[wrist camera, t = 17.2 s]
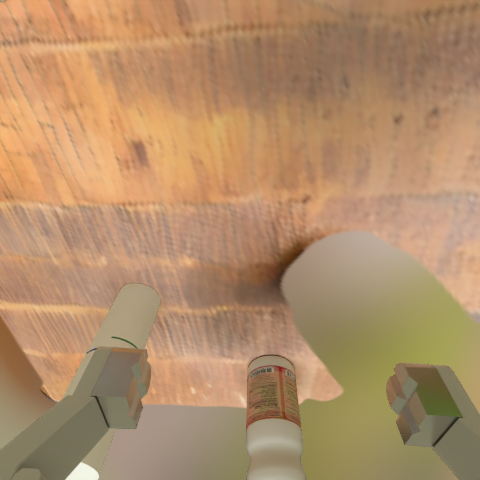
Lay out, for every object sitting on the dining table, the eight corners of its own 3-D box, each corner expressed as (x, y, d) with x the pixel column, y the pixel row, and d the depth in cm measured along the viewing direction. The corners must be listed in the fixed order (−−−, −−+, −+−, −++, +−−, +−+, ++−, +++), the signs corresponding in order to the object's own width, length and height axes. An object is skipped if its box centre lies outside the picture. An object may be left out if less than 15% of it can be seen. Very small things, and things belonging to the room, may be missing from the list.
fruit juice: (302, 361, 60) (332, 566, 37) (280, 385, 65) (295, 579, 42) (259, 348, 59) (262, 554, 35) (240, 374, 63) (232, 569, 40)
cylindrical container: (113, 283, 51) (14, 455, 30) (155, 282, 50) (84, 456, 29) (125, 313, 55) (46, 484, 34) (164, 312, 54) (108, 485, 33)
